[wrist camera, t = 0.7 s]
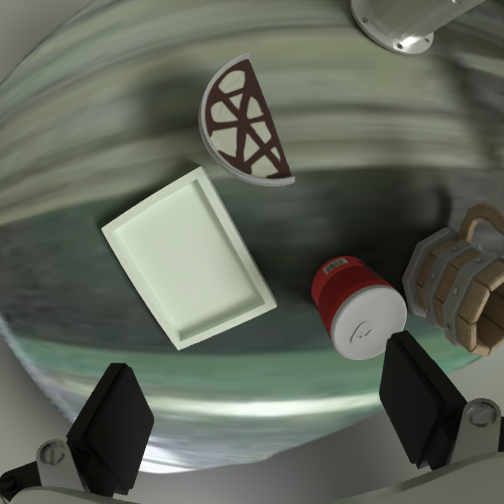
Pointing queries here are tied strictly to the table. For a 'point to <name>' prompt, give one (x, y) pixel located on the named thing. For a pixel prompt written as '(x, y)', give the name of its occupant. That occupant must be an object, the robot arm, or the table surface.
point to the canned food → (357, 307)
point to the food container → (241, 127)
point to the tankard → (460, 284)
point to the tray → (189, 261)
